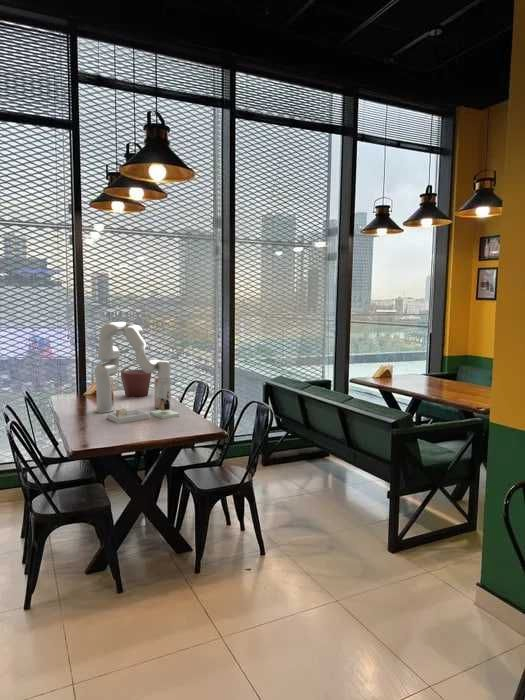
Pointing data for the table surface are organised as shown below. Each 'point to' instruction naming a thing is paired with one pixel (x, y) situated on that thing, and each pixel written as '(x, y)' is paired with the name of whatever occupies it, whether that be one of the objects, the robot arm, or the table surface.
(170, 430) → the table surface
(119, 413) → the plain block
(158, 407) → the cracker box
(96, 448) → the table surface
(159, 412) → the board
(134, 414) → the bin
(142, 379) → the bucket
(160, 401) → the labelled block
